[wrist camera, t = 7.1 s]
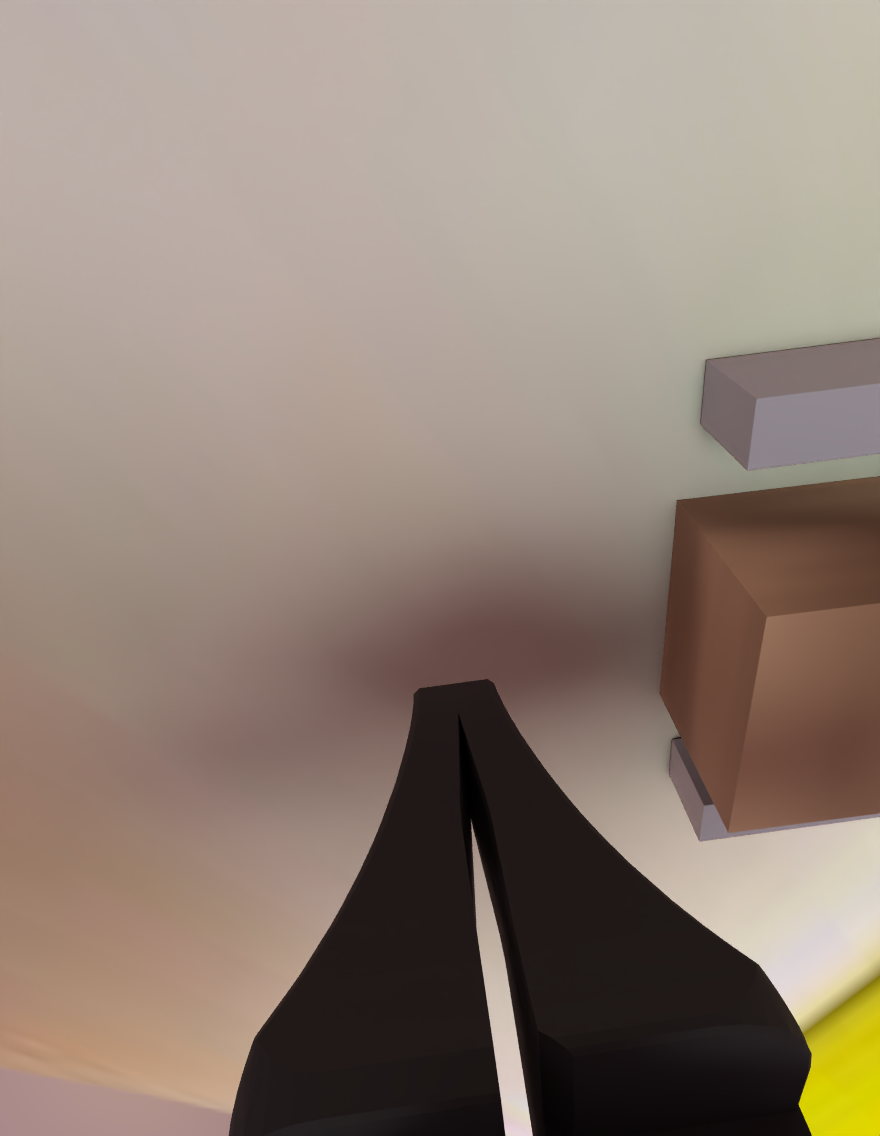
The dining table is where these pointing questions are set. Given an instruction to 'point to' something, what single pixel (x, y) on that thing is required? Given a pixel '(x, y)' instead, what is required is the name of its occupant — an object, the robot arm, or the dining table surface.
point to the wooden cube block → (778, 650)
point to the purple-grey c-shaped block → (783, 462)
